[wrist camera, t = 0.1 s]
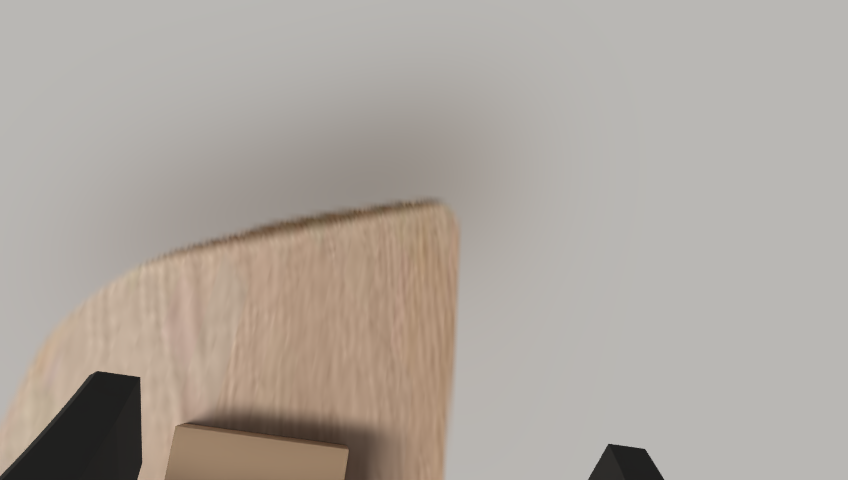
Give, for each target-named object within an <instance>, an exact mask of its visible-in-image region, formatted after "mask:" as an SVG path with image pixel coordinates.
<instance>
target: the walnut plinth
mask: <svg viewBox="0 0 848 480" xmlns="http://www.w3.org/2000/svg"><path fill="white" fill-rule="evenodd" d="M348 452H349V449H348V447H347V446H346V445H341V444H334V443H326V442H319V441H312V440H304V439H297V438H290V437H282V436H275V435H268V434H260V433H253V432H246V431H238V430H231V429H224V428H216V427H209V426H202V425H194V424H187V423H184V424H181V425H178V426H176V427H175V432H174V437H173V441H172V446H171V451H170V456H169V461H168V466H167V470H166V475H165V480H344V478H345V471H346V465H347V459H348Z"/></svg>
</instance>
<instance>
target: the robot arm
mask: <svg viewBox="0 0 848 480" xmlns="http://www.w3.org/2000/svg"><path fill="white" fill-rule="evenodd" d="M141 465H142V436H141V391H140V377H135V376H128V375H121V374H114V373H107V372H100V371H97V372H95V373H93V374H91V375H89V377H88V378H87V379H86V380H85V382H84V383H83V384H82V385H81V387H80V388H79V389H78V390H77V392H76V393H75V394H74V395H73V396H72V398H71V399H70V400H69V401H68V402H67V404H66V405H65V406H64V407H63V408H62V409H61V411H60V412H59V413H58V414H57V415H56V416H55V418H54V419H53V420H52V421H51V422H50V423H49V424H48V426H47V427H46V428H45V429H44V430H43V431H42V432H41V433H40V434H39V436H38V437H37V438H36V439H35V440H34V441H33V442H32V443H31V444H30V445H29V447H28V448H27V449H26V450H25V451H24V452H23V453H22V454H21V455H20V456H19V457H18V458H17V459H16V460H15V461H14V463H13V464H12V465H11V466H10V467H9V468H8V469H7V470H6V471H5V472H4V473H3V474H2V475H1V476H0V480H137V479H138V475H139V472H140V468H141ZM588 480H664V479H663V477H662V475H661V474H660V472H659V471H658V469H657V467H656V466H655V464H654V463H653V461H652V459H651V458H650V456H649V455H648V453H647V451H646V450H645V449H641V448H634V447H627V446H620V445H613V444H608V446H607V447H606V449H605V451H604V453H603V454H602V456H601V458H600V460H599V462H598V463H597V465H596V467H595V468H594V470H593V472H592V474H591V475H590V477H589V479H588Z"/></svg>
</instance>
